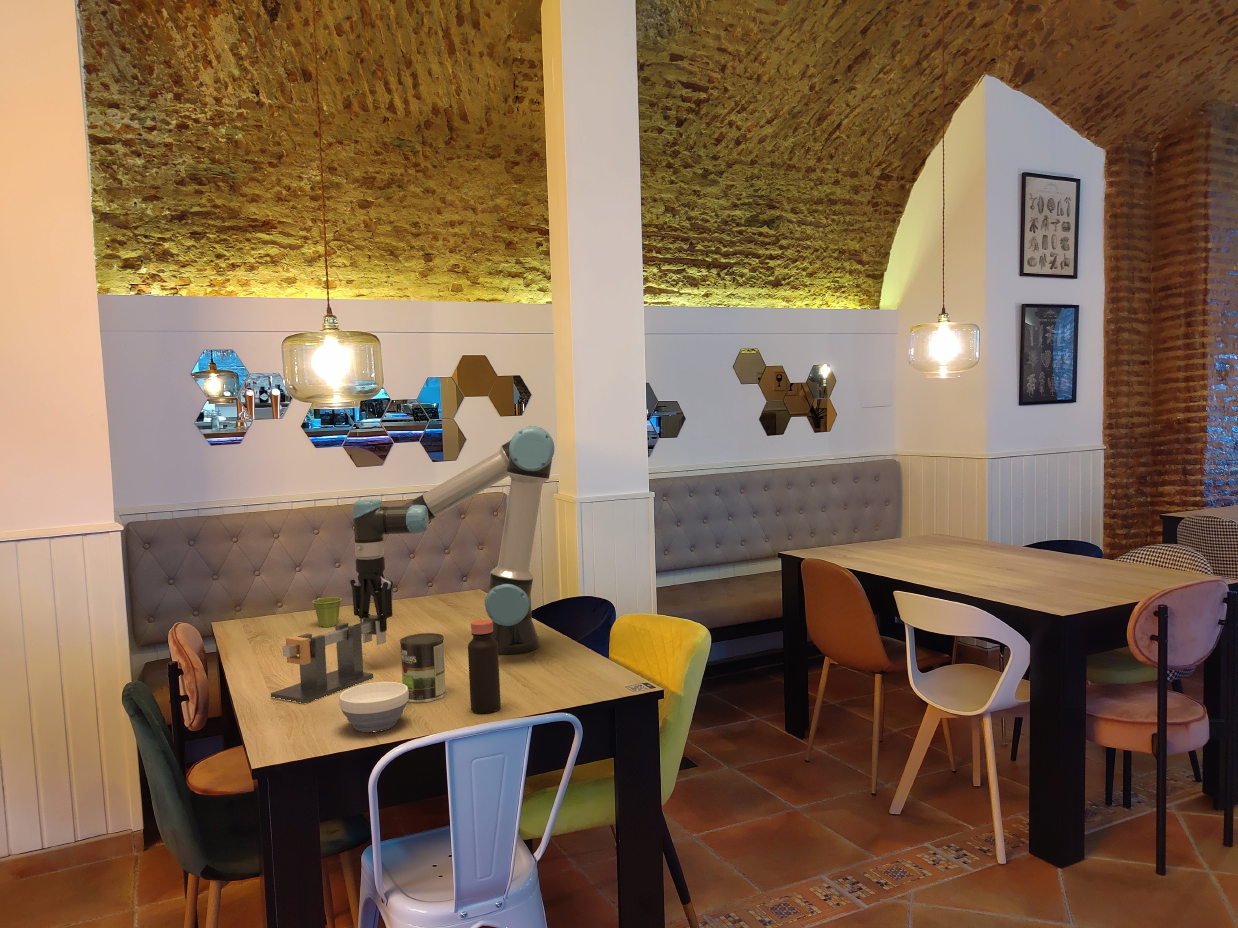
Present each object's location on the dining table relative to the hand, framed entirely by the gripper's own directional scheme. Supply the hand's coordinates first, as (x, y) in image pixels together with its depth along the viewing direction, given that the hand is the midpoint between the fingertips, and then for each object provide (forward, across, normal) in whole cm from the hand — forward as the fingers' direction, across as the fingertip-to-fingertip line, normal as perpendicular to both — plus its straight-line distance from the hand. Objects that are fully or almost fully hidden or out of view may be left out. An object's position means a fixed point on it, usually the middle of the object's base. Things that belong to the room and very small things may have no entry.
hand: (374, 642), depth 226 cm
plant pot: (+7, -54, +32) cm, 63 cm away
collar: (-1, 0, -25) cm, 25 cm away
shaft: (-3, 0, -13) cm, 14 cm away
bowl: (+7, +33, -33) cm, 47 cm away
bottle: (+7, +49, -15) cm, 52 cm away
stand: (+7, 0, -18) cm, 19 cm away
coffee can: (+7, +29, -13) cm, 33 cm away
